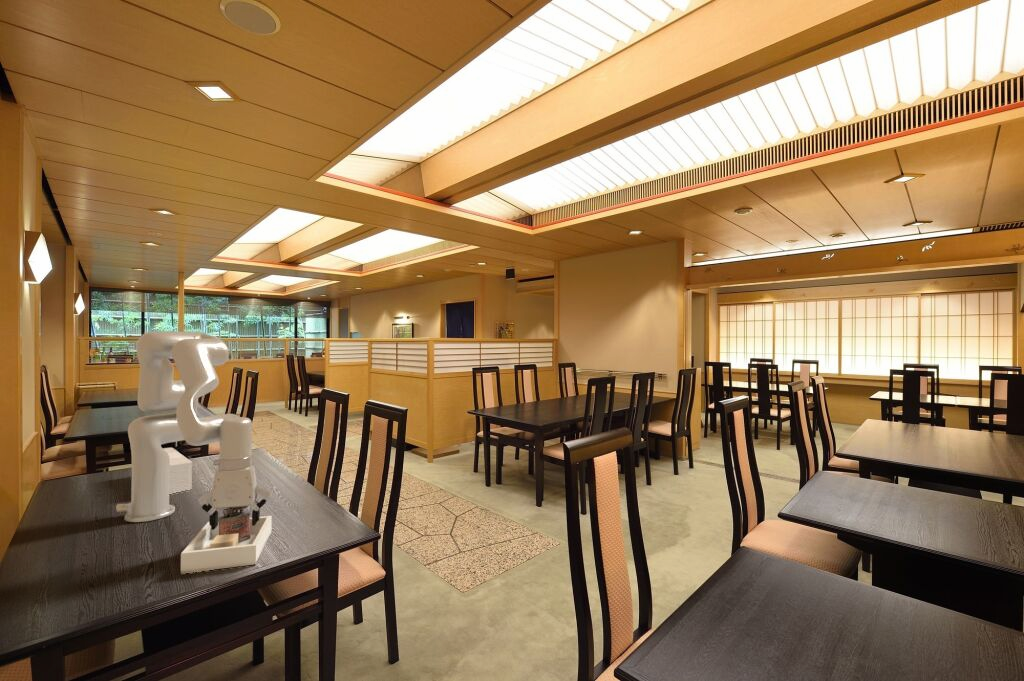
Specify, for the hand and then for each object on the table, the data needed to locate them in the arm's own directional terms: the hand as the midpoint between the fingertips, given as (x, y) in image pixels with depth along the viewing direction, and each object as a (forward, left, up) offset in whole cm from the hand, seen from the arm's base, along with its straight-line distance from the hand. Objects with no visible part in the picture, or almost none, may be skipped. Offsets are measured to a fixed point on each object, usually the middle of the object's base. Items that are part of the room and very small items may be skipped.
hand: (234, 525), depth 125 cm
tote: (0, -4, -5) cm, 7 cm away
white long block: (-40, +66, -6) cm, 77 cm away
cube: (0, -10, -4) cm, 11 cm away
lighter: (0, 0, -5) cm, 5 cm away
